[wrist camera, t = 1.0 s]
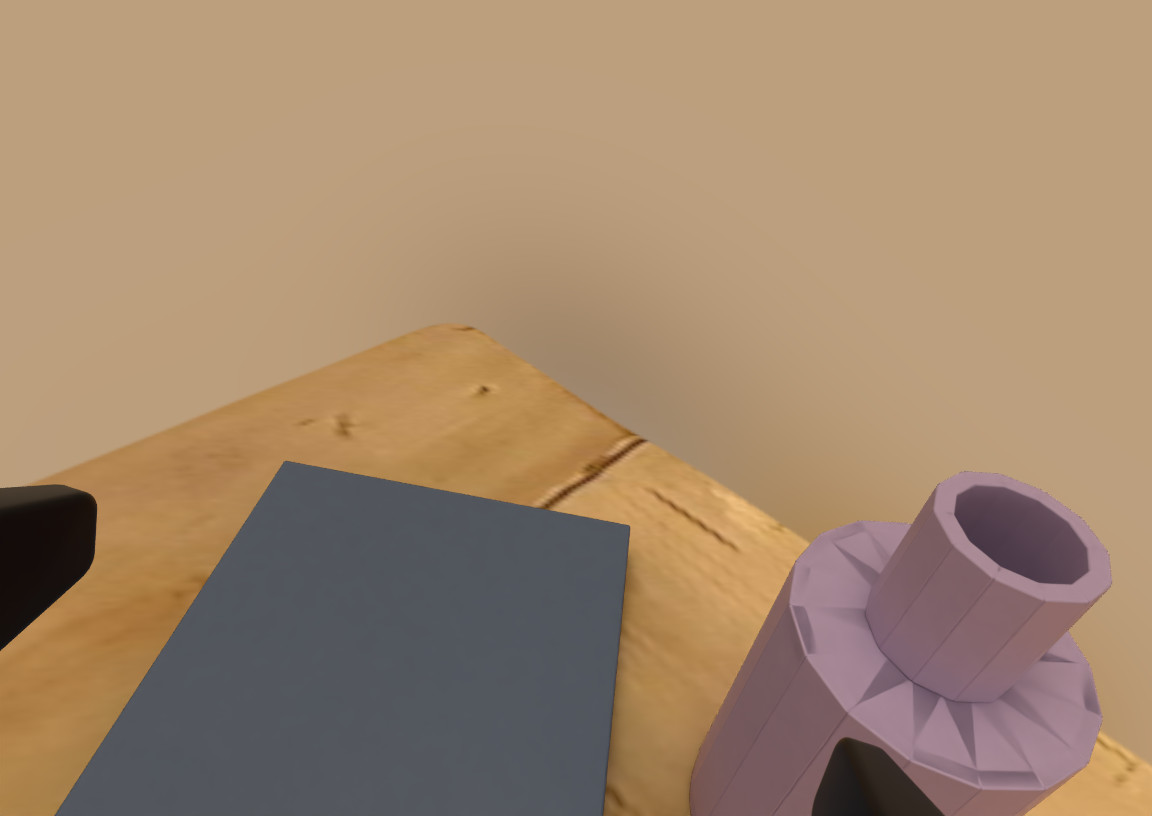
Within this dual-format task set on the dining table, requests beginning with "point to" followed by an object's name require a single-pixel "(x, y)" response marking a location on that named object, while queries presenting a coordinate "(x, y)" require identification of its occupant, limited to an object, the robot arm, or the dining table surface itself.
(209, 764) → the grey stepped slab
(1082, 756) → the vase
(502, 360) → the dining table surface
